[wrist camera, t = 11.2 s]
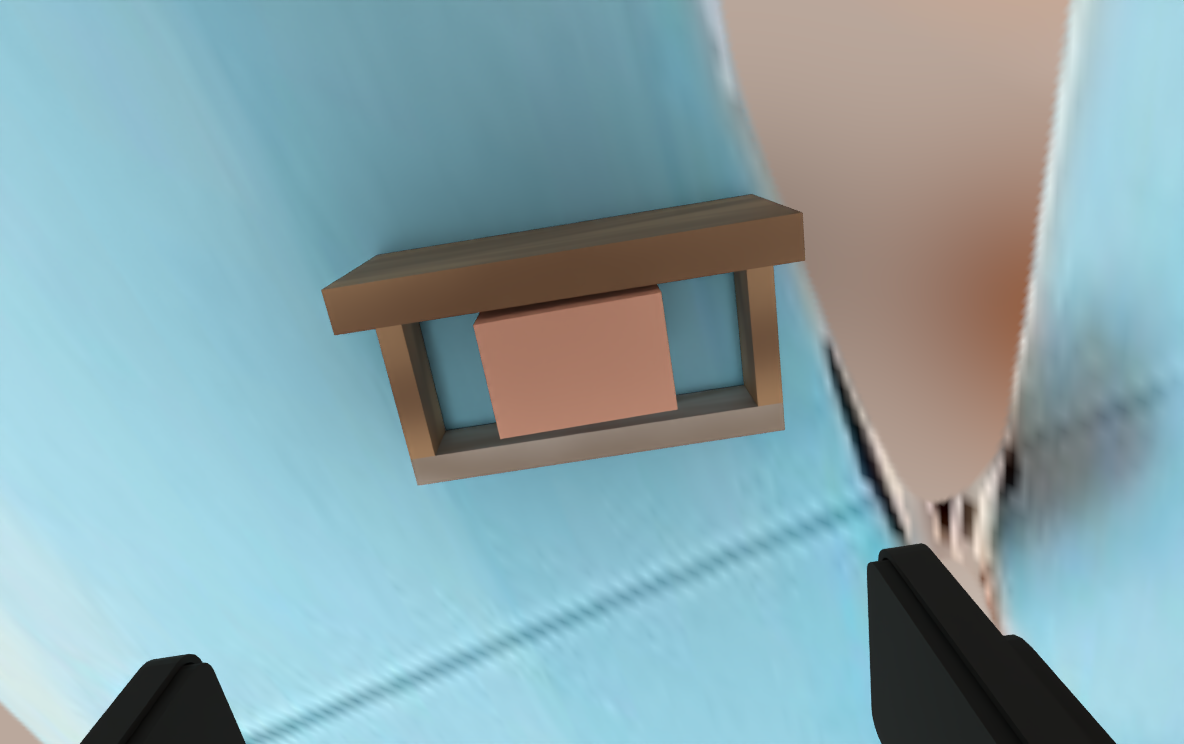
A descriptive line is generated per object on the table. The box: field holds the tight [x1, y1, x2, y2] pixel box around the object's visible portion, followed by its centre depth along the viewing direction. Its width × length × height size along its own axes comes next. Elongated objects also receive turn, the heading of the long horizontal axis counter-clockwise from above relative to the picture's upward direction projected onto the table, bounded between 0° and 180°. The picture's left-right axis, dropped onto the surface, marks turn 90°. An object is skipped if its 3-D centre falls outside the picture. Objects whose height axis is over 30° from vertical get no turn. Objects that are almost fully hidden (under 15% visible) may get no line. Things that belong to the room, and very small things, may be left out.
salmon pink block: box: [473, 284, 678, 439], centre depth 26 cm, size 5×6×7 cm
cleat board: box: [321, 194, 805, 485], centre depth 26 cm, size 9×15×6 cm, turn 99°
